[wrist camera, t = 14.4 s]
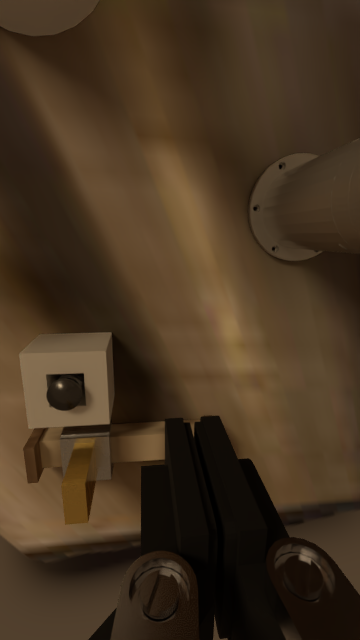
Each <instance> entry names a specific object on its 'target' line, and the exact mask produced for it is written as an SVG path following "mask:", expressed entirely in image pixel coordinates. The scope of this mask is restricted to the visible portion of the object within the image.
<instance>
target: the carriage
mask: <svg viewBox="0 0 360 640" xmlns="http://www.w3.org/2000/svg"><path fill="white" fill-rule="evenodd" d="M111 428H112V420H110V424H100V425H83V426H65V427H64V428H63V431H62V433H61V437H60V449H61V459H62V469H63V482H62V485H61V487H62V497H63V507H64V516H65V525H66V524H77V523H88V521H89V515H90V510H91V505H92V499H93V494H94V489H95V483H96V480H108V479H111V478H112V471H113V463H112V462H111V443H110V434H111Z"/></svg>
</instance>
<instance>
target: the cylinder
mask: <svg viewBox="0 0 360 640" xmlns="http://www.w3.org/2000/svg"><path fill="white" fill-rule="evenodd" d="M99 1H100V0H0V26H1V27H3V28H4V29H6V30H8V31H11V32H16V33H20V34H25V35H29V36H44V35H56V34H58V33H60V32H63V31H65V30H68V29H70V28H73V27H75V26H76V25H78V24H79V23H80V22H81V21H82V20H83V19H85V18H86V17H87V16H88V15H89V14H90V13H92V12H93V10H94V8H95V7H96V5H97V4H98V2H99Z"/></svg>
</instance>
